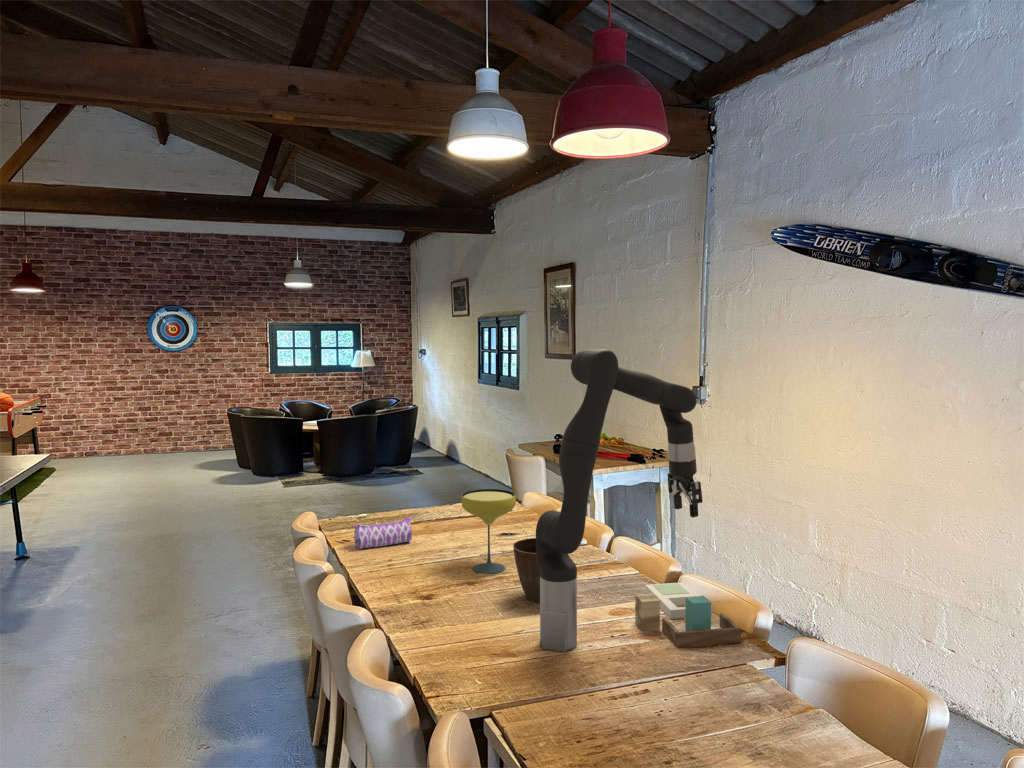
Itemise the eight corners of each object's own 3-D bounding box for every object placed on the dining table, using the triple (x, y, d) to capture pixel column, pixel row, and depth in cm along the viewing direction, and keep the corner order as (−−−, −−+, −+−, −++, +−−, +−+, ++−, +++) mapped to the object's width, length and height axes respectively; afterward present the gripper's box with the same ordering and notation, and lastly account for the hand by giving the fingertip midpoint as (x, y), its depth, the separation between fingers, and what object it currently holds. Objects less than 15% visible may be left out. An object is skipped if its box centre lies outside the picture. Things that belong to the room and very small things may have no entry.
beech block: (659, 630, 183) (660, 600, 183) (641, 631, 183) (641, 601, 182) (652, 622, 188) (653, 593, 188) (635, 623, 188) (635, 594, 187)
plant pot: (560, 609, 197) (560, 554, 196) (508, 606, 200) (508, 551, 199) (566, 591, 212) (566, 539, 211) (518, 587, 215) (518, 536, 214)
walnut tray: (741, 642, 176) (741, 628, 176) (677, 647, 173) (677, 633, 173) (723, 626, 186) (723, 613, 185) (662, 630, 183) (662, 617, 183)
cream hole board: (712, 616, 192) (712, 606, 192) (670, 619, 191) (670, 609, 190) (683, 590, 212) (683, 581, 212) (645, 592, 210) (645, 584, 210)
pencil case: (356, 552, 252) (356, 526, 251) (350, 546, 260) (349, 520, 259) (415, 544, 261) (414, 519, 261) (407, 538, 270) (407, 514, 269)
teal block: (710, 636, 179) (711, 602, 179) (692, 637, 179) (692, 603, 178) (703, 629, 184) (703, 595, 183) (685, 630, 183) (685, 597, 183)
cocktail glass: (518, 560, 241) (518, 489, 240) (513, 578, 223) (512, 501, 222) (466, 559, 243) (466, 488, 241) (457, 577, 225) (456, 500, 224)
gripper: (657, 454, 202) (661, 508, 204) (683, 464, 188) (688, 522, 190) (680, 450, 204) (684, 504, 206) (707, 459, 191) (711, 517, 193)
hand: (686, 512), depth 198 cm, fingers open, 8 cm apart
